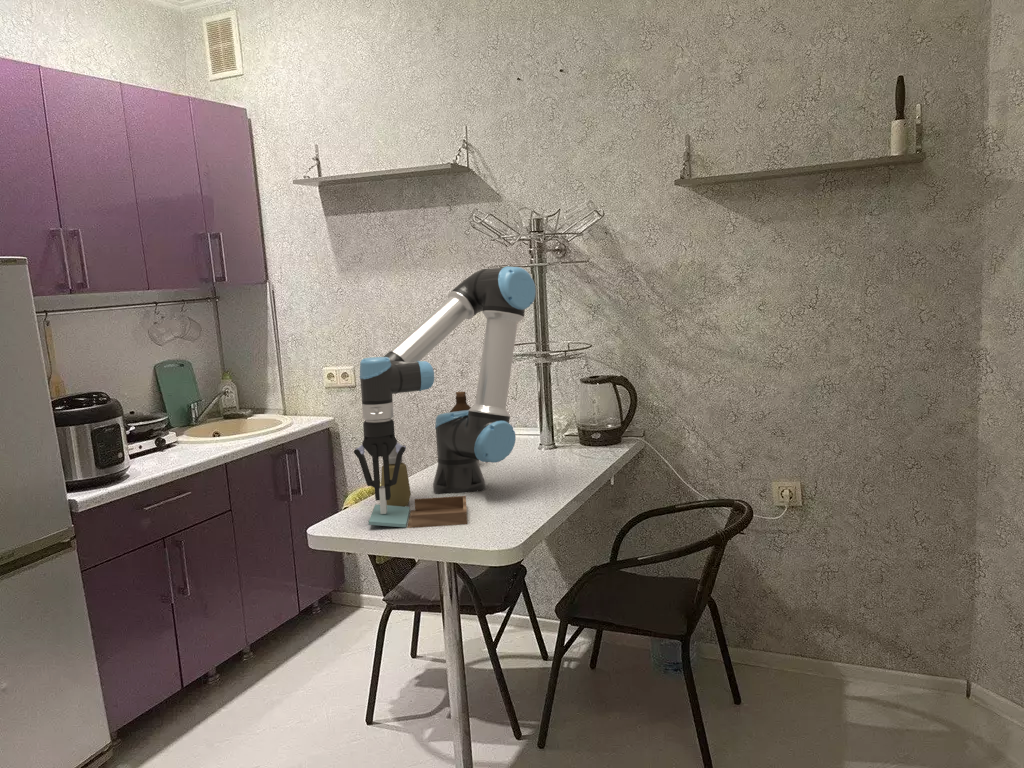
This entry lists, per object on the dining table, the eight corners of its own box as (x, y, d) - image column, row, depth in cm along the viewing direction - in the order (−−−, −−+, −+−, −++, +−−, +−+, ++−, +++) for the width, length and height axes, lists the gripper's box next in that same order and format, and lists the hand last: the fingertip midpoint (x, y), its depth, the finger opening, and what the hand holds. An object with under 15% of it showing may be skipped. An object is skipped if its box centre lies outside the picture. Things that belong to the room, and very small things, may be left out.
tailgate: (409, 509, 200) (375, 507, 199) (409, 507, 200) (375, 504, 199) (405, 527, 185) (368, 524, 184) (406, 524, 185) (368, 521, 184)
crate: (410, 514, 200) (410, 499, 200) (466, 510, 201) (465, 495, 201) (407, 531, 185) (406, 515, 185) (467, 527, 186) (466, 512, 186)
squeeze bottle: (416, 504, 209) (412, 440, 207) (405, 513, 202) (401, 446, 199) (388, 503, 211) (384, 440, 209) (376, 512, 203) (372, 446, 201)
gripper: (349, 423, 185) (356, 518, 188) (403, 420, 186) (409, 515, 189) (353, 418, 192) (359, 509, 195) (405, 416, 193) (410, 506, 196)
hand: (383, 512), depth 192 cm, fingers closed
